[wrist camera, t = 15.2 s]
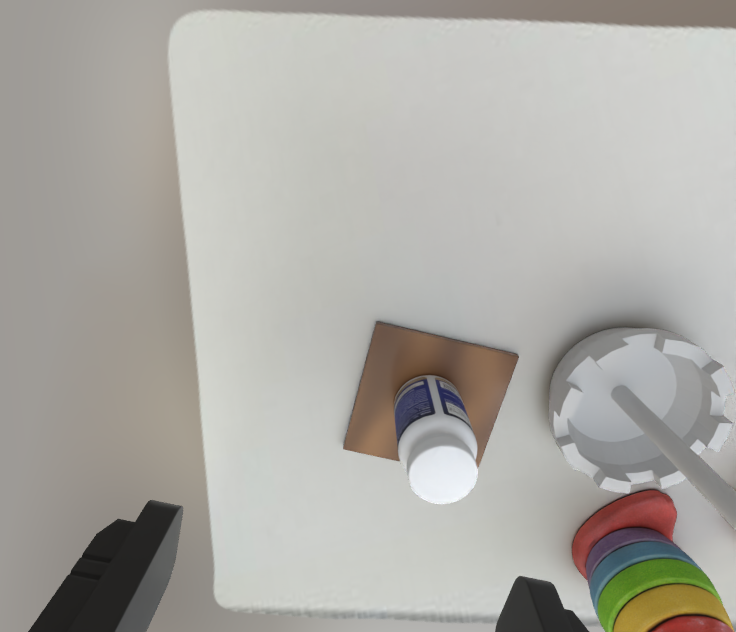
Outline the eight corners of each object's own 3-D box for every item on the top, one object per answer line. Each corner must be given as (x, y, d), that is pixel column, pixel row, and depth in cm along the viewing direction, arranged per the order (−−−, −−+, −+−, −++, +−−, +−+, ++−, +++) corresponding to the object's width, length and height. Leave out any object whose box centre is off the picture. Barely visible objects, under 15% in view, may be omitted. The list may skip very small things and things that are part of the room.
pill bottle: (394, 434, 45) (400, 513, 35) (392, 374, 43) (398, 440, 33) (461, 431, 45) (485, 510, 35) (461, 371, 43) (487, 436, 33)
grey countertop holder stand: (532, 328, 42) (866, 716, 14) (696, 303, 41) (1411, 661, 13) (541, 463, 46) (812, 979, 18) (690, 444, 45) (1223, 949, 17)
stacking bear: (685, 572, 50) (845, 791, 33) (582, 598, 51) (685, 824, 34) (667, 482, 47) (833, 676, 30) (556, 513, 48) (656, 716, 31)
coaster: (343, 445, 46) (343, 449, 45) (376, 321, 42) (376, 323, 41) (473, 473, 47) (474, 477, 46) (517, 353, 43) (519, 356, 42)
